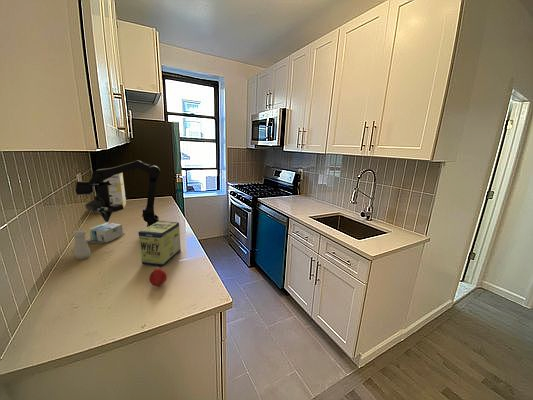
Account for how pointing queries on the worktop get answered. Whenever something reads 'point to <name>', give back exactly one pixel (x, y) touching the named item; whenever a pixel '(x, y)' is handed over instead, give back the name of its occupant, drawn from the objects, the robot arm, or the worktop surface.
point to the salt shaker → (81, 245)
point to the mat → (96, 241)
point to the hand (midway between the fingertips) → (106, 221)
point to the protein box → (159, 243)
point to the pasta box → (117, 189)
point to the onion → (158, 277)
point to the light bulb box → (106, 232)
